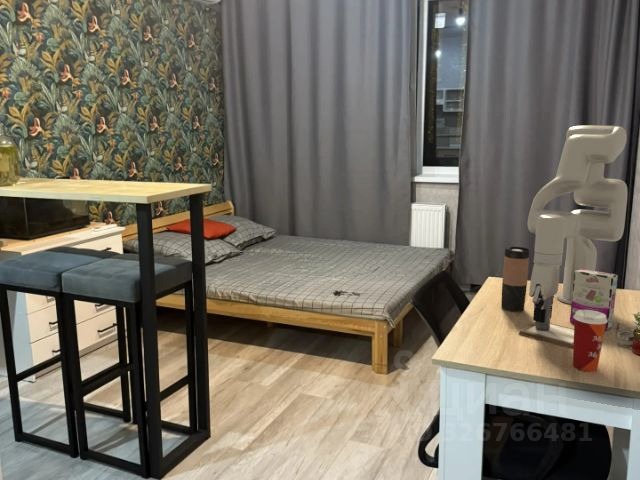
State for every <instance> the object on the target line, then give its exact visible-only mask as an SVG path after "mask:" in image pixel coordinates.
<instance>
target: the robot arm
mask: <svg viewBox="0 0 640 480" xmlns="http://www.w3.org/2000/svg"><path fill="white" fill-rule="evenodd" d="M565 136H566V139H565V142H564V146H563V149H562V151H561V152H562V153H561V157H560V159H559V164H558V167H557V170H556V175H555V178H553V179H552V180H550V181H549V182H548V183H547V184H545V185H544V186H543V187H542V188H540V190H538V192H537V193H536V195H535V196H534V197H533V200H532V202H531V207H530V210H529V214H528V218H527V229H528V231H529V232H530V233H531V234H534V235H535V239H534V240H535V241H534V250H533V251H534V252H533V253H534V255H533V263H534V264H533V267H532V271H531V277H530V283H529V291H528V295H529V297H530V298H532V303H533V308H534V309H533V315H532V316H533V317H532V320H533V321H534V322H535V321H537V322H541V323H544V322H545V314H546V309H545V303H546V299H547V298H550V297H551V296H552V297H551V316H550V320H551V319H552V314H553V305H554V299H555V296H556V299H557V300H559V302H562V303H564V304H569V305H571V304H572V294H573V284H574V272H575V271H576V270H578V269H586V270H592V271H596V267H597V266H596V265H597V258H598V257H597V256H598V254H597V253H598V252H597V248H596V246H595V243H593V241H592V240H596V241H597V240H598V241H604V242H605V241H607V242H616V241H617V242H618V241H619V240H621V239H622V237H623V235H624V230H625V225H626V224H625V222H626V213H627V203H628V186H627V184H626V182H625V181H624V180H622V179H618V178H607V177H606V178H605V176H604V174H605V173H604V172H605V164H611V163H613V162H614V161H616V159H617V158H618V157H619V155H620V154H621V153H622V152H624V151H623V150H624V149H625V147H626V144H627V140H628V139H627V137H628V136H627V131H626V129H625V128H624V127H622V126H619V125H595V124H594V125H590V124H589V125H587V124H585V125H576V126H572V127H569V128H568V130H567V131H566V135H565ZM572 192H573V200H574V202H575V203H576V204H577V205H580V206H585V207H591V208H593V207H594V208H602V209H603V208H605V209H608V211H602V210H594V209H585V208H584V209H581V208H580V209H574V210H571V211H570V212H569V211H560V210H551V209H550V210H549V209H545V206H546V205H547V204H548V203H549V202H550V201H551V200H553V199H555V198H558V197H560V196H562V195H567V194H570V193H572ZM565 239H566V251H565V261H564V263H565V264H564V272H563V282H562V292H559V293H558V291H559V284H560V267H561V266H562V264H563V255H564V245H565ZM556 294H557V295H556ZM540 296H543V297H542V298H540ZM539 300H542V303H541V301H539Z"/></svg>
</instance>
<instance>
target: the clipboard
mask: <svg viewBox="0 0 640 480" xmlns="http://www.w3.org/2000/svg"><path fill="white" fill-rule="evenodd" d="M518 331H519V332H518V334H519V335H522V336H526V337H528V338H533V339H537V340H540V341H544V342H547V343H551V344H555V345H560V346H563V347H566V348H571V349H573V345H574V327H567V326H563V325H559V324H555V323H552V322H550V328H549V330H538V329H536V328H535V321H534V322H532V323H531V324H530V323H529V324H528V325H527V326H524V328H522V329H520V330H518Z"/></svg>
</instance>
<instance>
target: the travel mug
mask: <svg viewBox="0 0 640 480" xmlns="http://www.w3.org/2000/svg"><path fill="white" fill-rule="evenodd" d="M504 248H505V249H504V258H503V259H504V261H503V270H502V283H501V303H500V304H501V307H500V308H501V309H502V310H505V311H508V312H516V313H517V312H523V311H524V309H525V305H526V296H527V286H528V277H529V276H528V275H529V265H530V264H529V263H530V253H531V252H530V249H528V247H527V248H526V247H523V246H510V247H508V248H507V247H504Z"/></svg>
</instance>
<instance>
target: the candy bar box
mask: <svg viewBox="0 0 640 480" xmlns="http://www.w3.org/2000/svg"><path fill="white" fill-rule="evenodd" d="M618 278H619V275H618V274H615V273H610V272H604V271H603V272H602V271H598V270H595V271H592V270H586V269H578V270H576V271H575V272H574V284H573V294H572V304H570V305H571V307H570V313H569V314H570V315H569V322H570V323H573V324H574V321H575V319H574V317H573V316H574V315H575V313H576V311H578V310H593V311H598V312H601V313H603V314H605V315H606V319H607V321H608V322H607V323H606V325H605V331H608V330H610V329H611V328H612V327H613V323H614V315H615V314H614V313H615V306H616V303H615V302H616V295H617V287H618Z"/></svg>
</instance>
